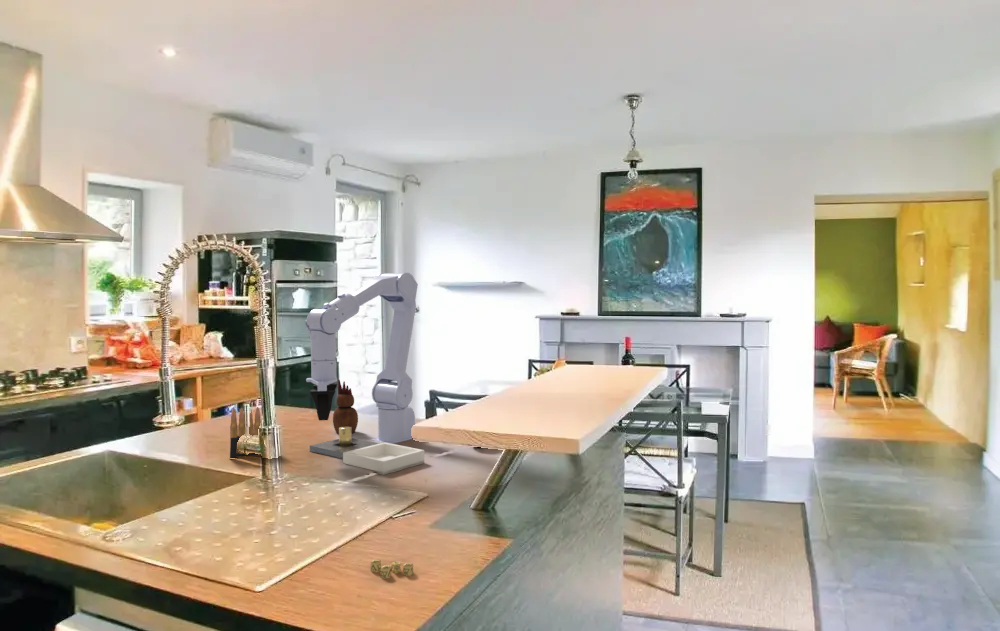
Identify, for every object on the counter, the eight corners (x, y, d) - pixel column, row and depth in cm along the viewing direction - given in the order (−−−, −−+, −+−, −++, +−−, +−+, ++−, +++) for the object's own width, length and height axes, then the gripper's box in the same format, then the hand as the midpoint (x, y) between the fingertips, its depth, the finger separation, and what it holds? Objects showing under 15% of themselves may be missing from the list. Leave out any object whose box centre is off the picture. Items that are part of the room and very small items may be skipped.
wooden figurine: (328, 434, 194) (328, 379, 194) (344, 430, 199) (344, 377, 198) (346, 437, 190) (345, 382, 190) (361, 434, 195) (361, 379, 194)
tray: (384, 454, 172) (384, 442, 172) (424, 462, 164) (424, 450, 164) (343, 465, 162) (343, 452, 162) (383, 475, 154) (383, 461, 154)
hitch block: (347, 444, 182) (347, 437, 182) (380, 451, 175) (380, 443, 175) (309, 453, 173) (309, 445, 173) (342, 461, 166) (342, 452, 166)
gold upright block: (345, 448, 176) (345, 426, 176) (354, 449, 174) (354, 427, 174) (336, 450, 174) (336, 428, 173) (344, 452, 172) (344, 429, 172)
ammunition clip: (277, 454, 172) (277, 405, 171) (277, 456, 170) (276, 406, 170) (230, 457, 169) (229, 407, 168) (229, 459, 167) (229, 408, 166)
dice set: (414, 578, 102) (414, 565, 102) (381, 586, 100) (381, 572, 100) (401, 566, 107) (401, 553, 107) (368, 573, 104) (368, 560, 104)
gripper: (308, 356, 174) (309, 411, 175) (303, 363, 160) (304, 423, 161) (338, 355, 175) (338, 410, 176) (335, 363, 161) (336, 422, 162)
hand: (324, 416), depth 168 cm, fingers open, 7 cm apart
